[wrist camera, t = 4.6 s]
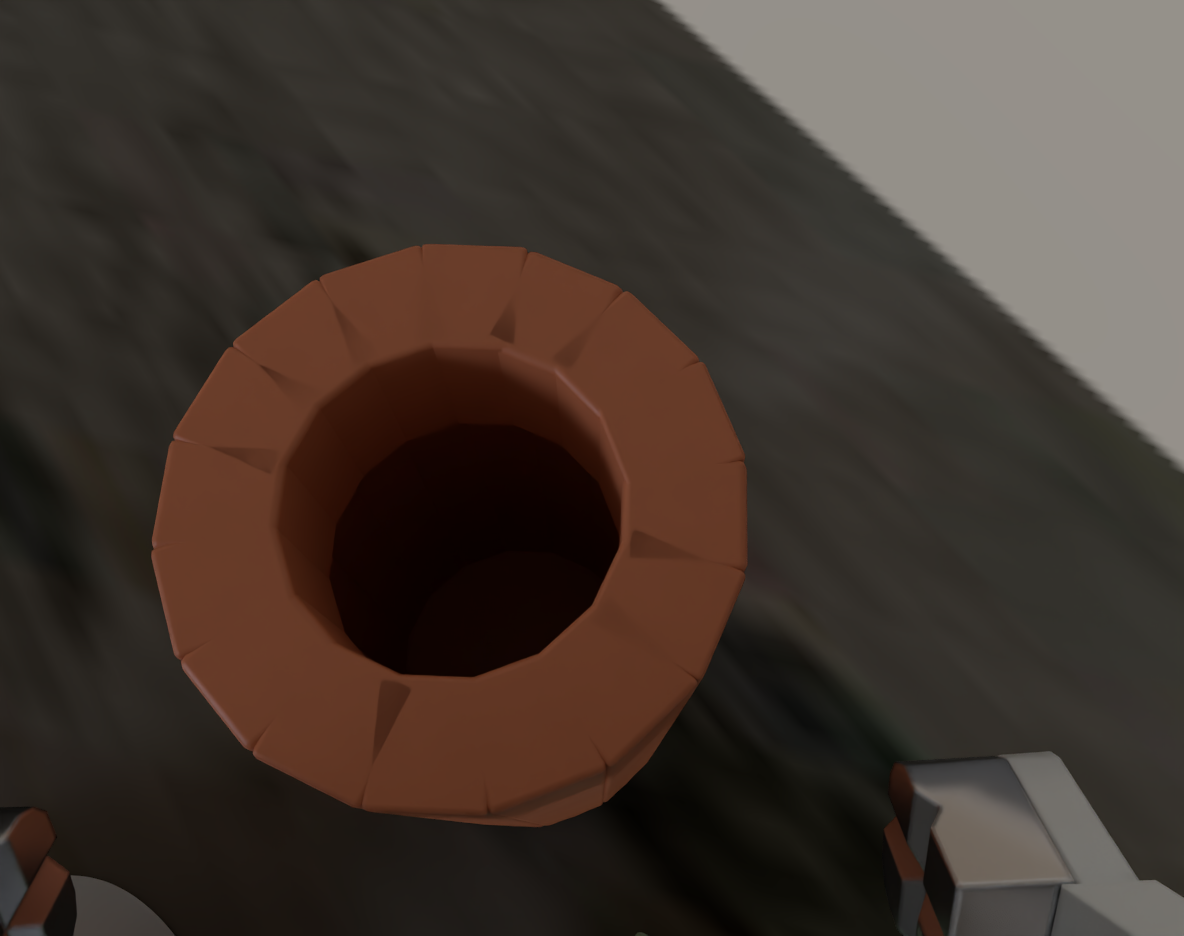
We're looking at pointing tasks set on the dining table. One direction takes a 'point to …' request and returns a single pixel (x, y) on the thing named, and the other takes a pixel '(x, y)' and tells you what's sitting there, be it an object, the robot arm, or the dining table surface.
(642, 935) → the scale
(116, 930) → the lumpy-topped squat cylinder
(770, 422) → the dining table surface
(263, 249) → the dining table surface
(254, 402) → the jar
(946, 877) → the robot arm
